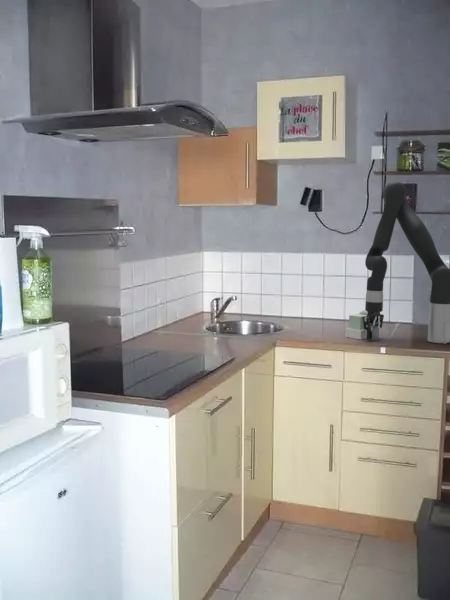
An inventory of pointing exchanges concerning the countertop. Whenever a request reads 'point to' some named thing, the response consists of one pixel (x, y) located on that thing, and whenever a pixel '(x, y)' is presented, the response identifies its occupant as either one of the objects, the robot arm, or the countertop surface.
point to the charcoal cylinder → (374, 333)
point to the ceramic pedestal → (356, 333)
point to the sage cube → (356, 321)
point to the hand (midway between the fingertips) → (372, 338)
